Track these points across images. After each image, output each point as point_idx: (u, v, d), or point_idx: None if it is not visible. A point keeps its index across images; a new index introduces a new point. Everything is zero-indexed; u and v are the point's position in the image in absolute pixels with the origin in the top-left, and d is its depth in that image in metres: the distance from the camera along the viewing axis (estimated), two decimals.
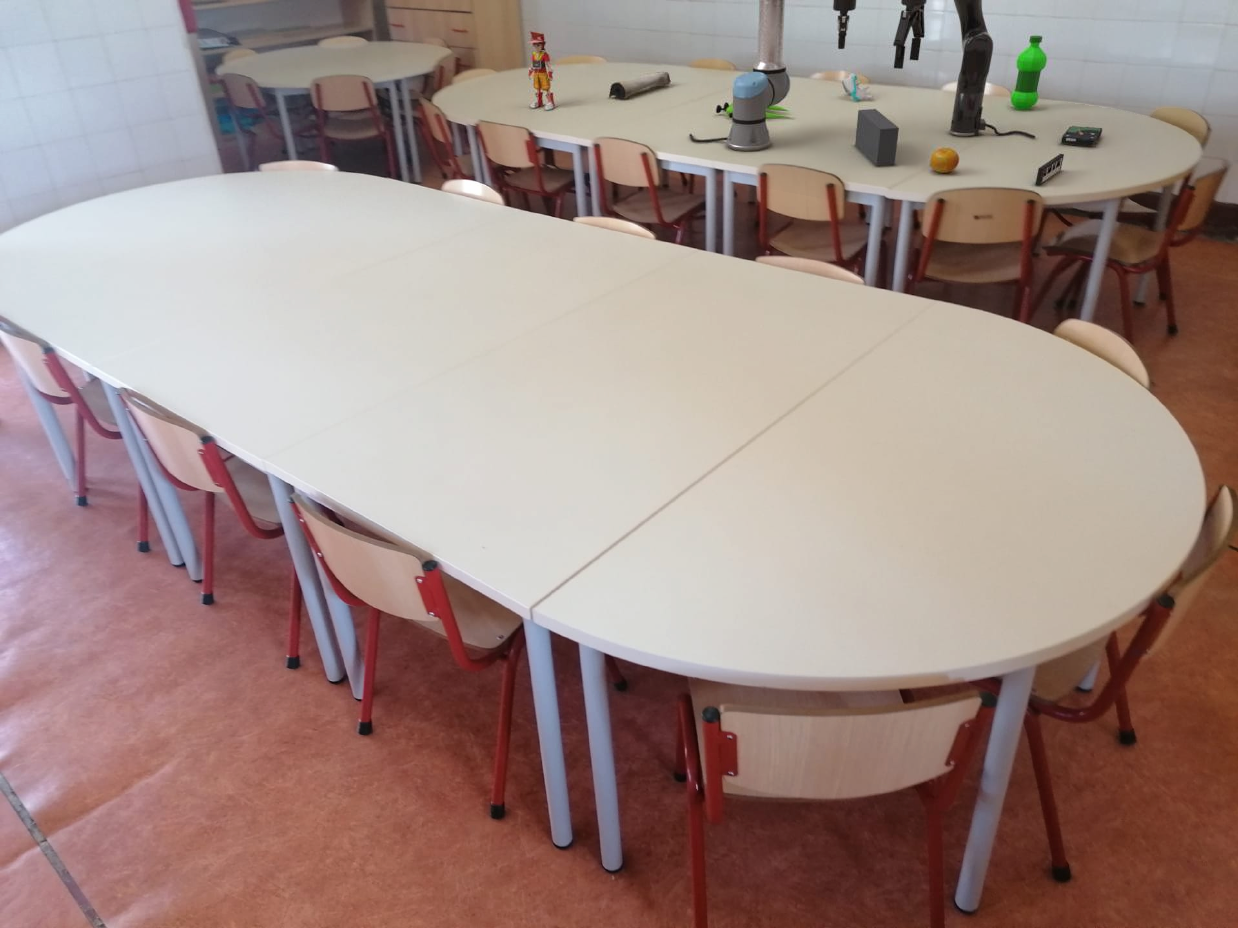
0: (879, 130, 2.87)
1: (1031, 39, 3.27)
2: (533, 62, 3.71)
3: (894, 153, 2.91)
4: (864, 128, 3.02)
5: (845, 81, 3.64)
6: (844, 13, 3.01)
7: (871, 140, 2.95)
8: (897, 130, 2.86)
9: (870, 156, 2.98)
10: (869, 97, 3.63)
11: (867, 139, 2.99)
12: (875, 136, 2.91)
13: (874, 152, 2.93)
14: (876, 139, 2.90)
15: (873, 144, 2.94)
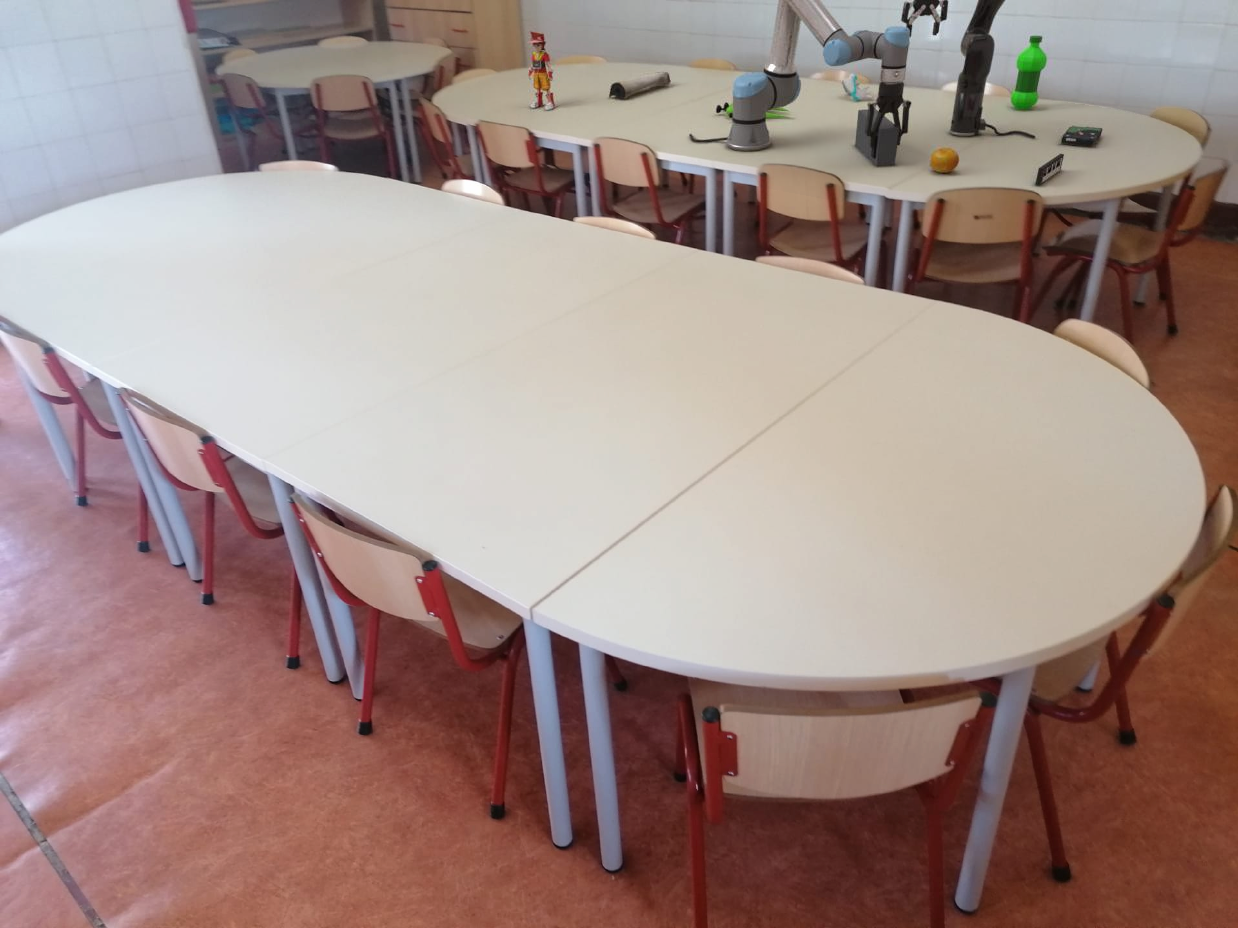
0: (879, 130, 2.87)
1: (1031, 39, 3.27)
2: (533, 62, 3.71)
3: (894, 153, 2.91)
4: (864, 128, 3.02)
5: (845, 81, 3.64)
6: None
7: None
8: (897, 130, 2.86)
9: (870, 156, 2.98)
10: (869, 97, 3.63)
11: (867, 139, 2.99)
12: None
13: None
14: None
15: None
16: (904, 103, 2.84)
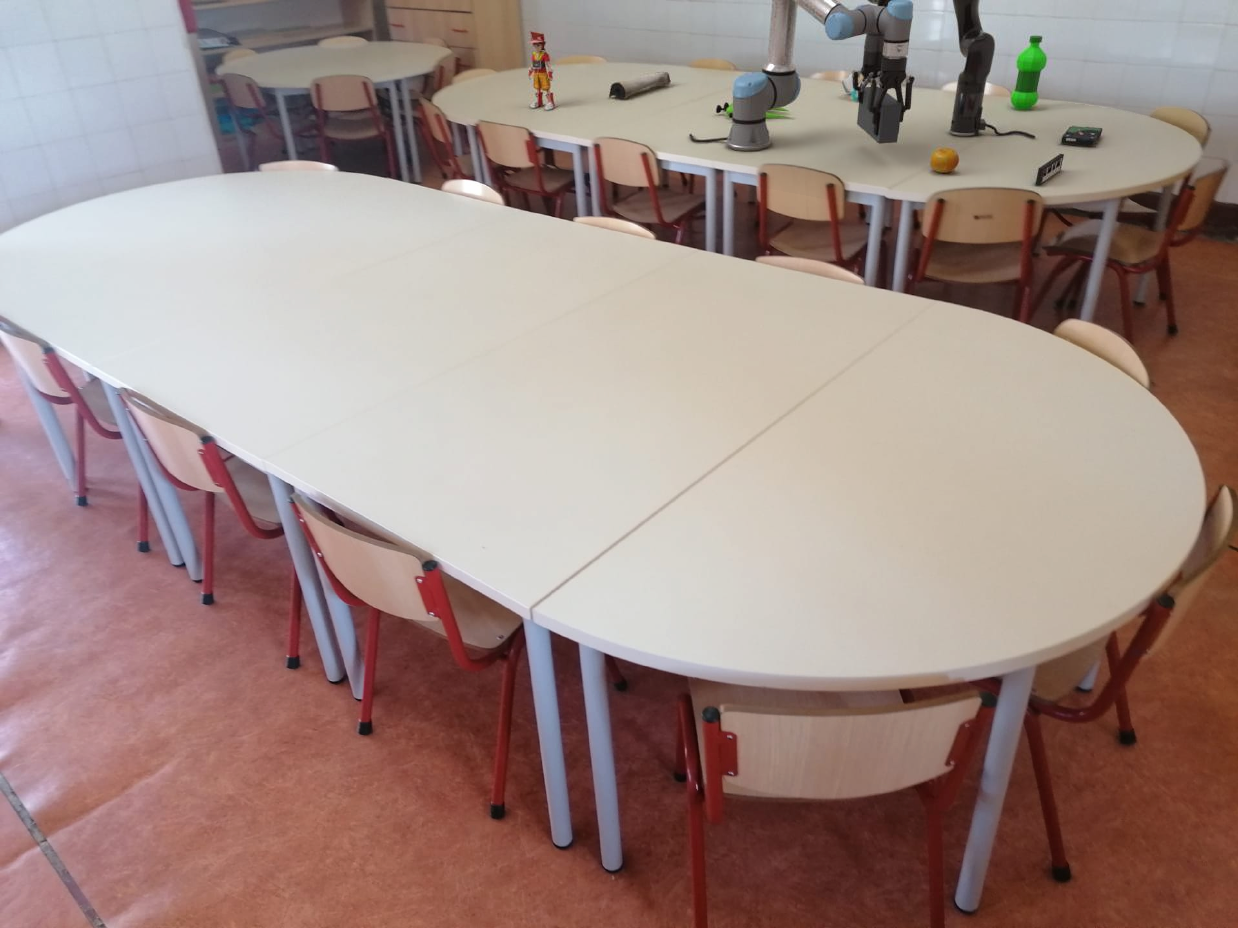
0: (882, 106, 2.83)
1: (1031, 39, 3.27)
2: (533, 62, 3.71)
3: (897, 130, 2.86)
4: (866, 105, 2.97)
5: (845, 81, 3.64)
6: (863, 66, 2.96)
7: None
8: (900, 106, 2.82)
9: (872, 133, 2.94)
10: None
11: (870, 116, 2.95)
12: None
13: None
14: None
15: None
16: (907, 78, 2.80)
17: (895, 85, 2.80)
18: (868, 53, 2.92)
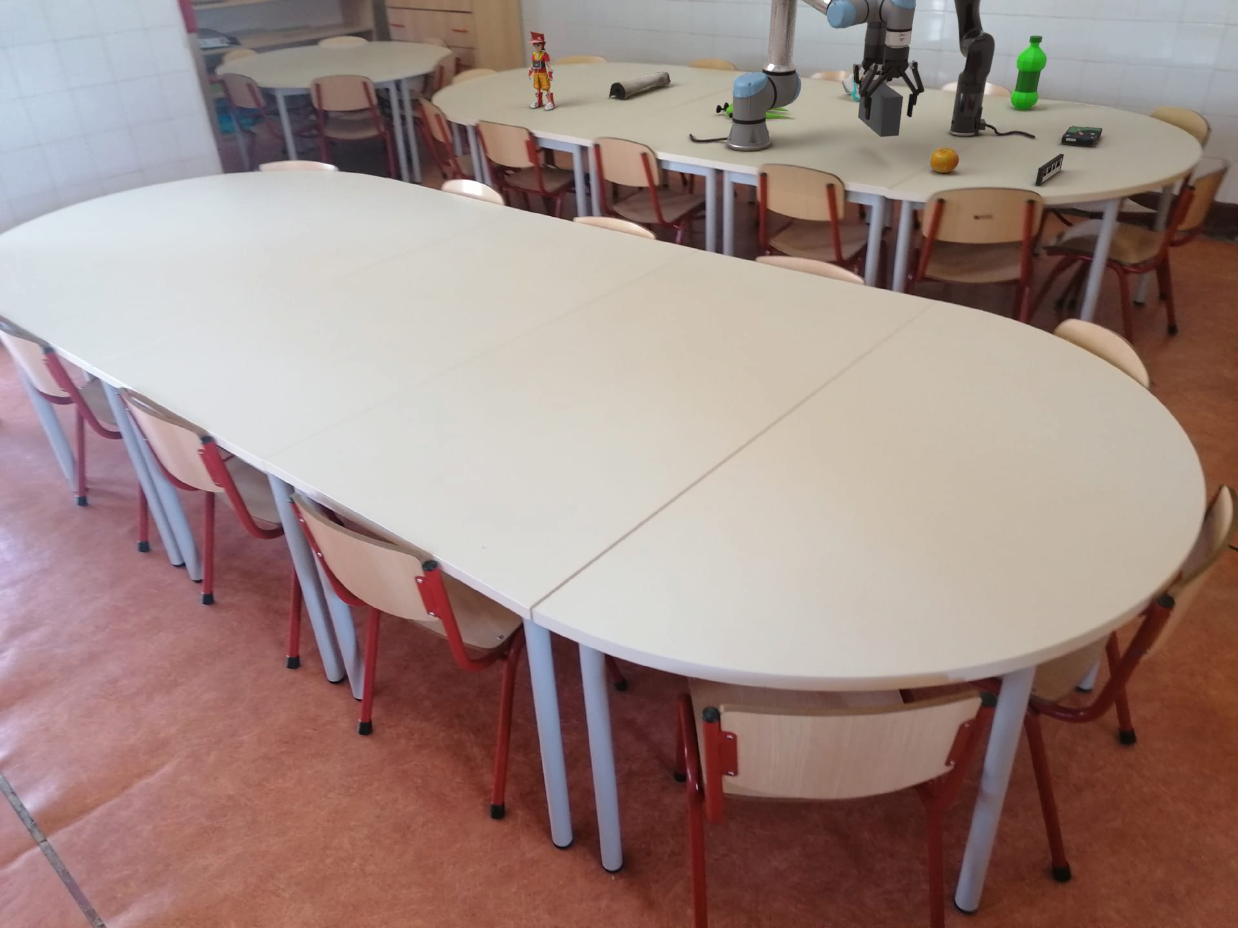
0: (883, 99, 2.82)
1: (1031, 39, 3.27)
2: (533, 62, 3.71)
3: (898, 123, 2.85)
4: None
5: (845, 81, 3.64)
6: (863, 60, 2.95)
7: (875, 110, 2.90)
8: (901, 99, 2.81)
9: (874, 127, 2.93)
10: None
11: (871, 109, 2.94)
12: (879, 105, 2.86)
13: (878, 122, 2.88)
14: (880, 108, 2.85)
15: (876, 114, 2.89)
16: (910, 65, 2.77)
17: (897, 75, 2.78)
18: (869, 46, 2.90)
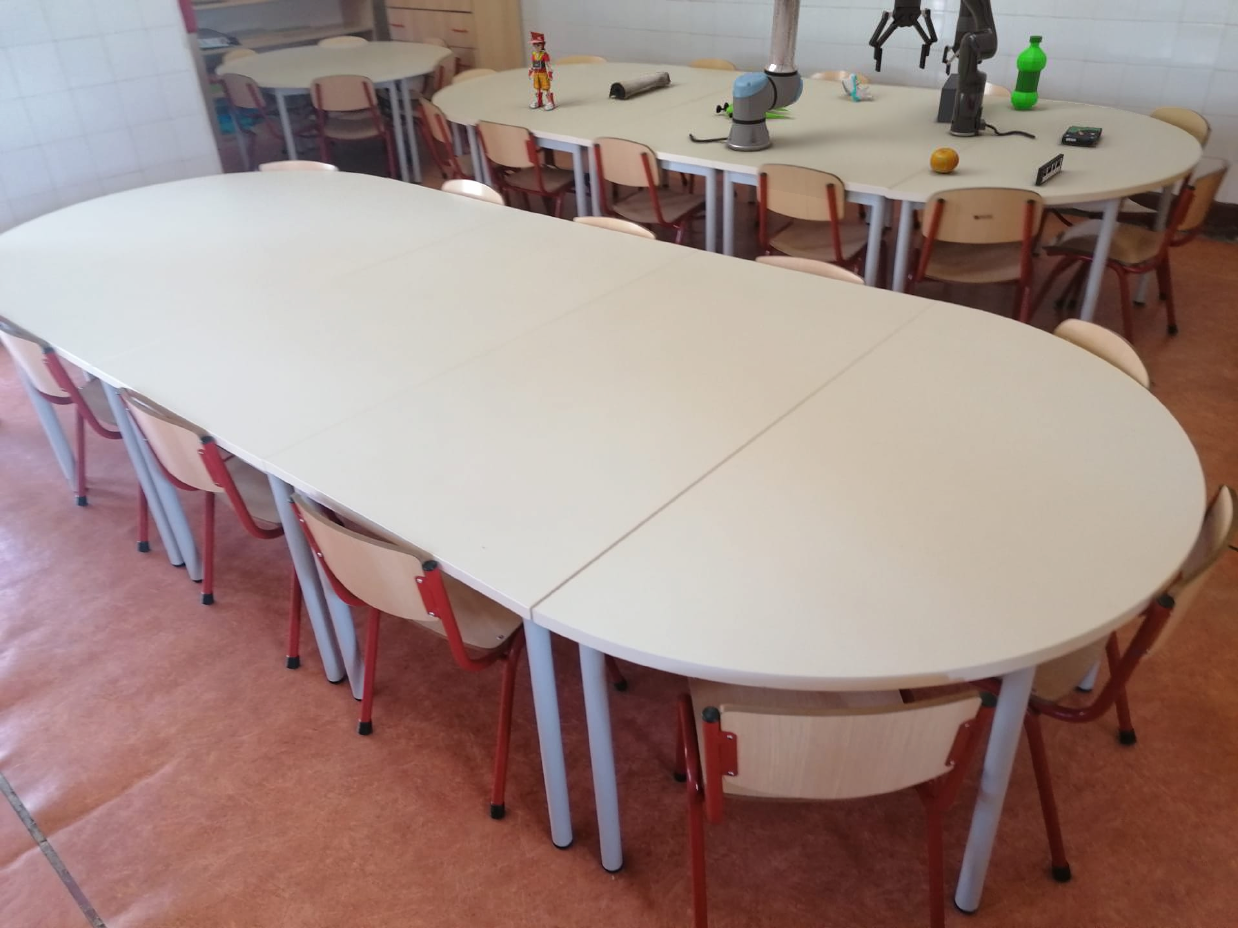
0: None
1: (1031, 39, 3.27)
2: (533, 62, 3.71)
3: None
4: None
5: (845, 81, 3.64)
6: (954, 44, 3.36)
7: None
8: None
9: None
10: (869, 97, 3.63)
11: None
12: None
13: None
14: None
15: None
16: (923, 13, 2.64)
17: (909, 23, 2.65)
18: (957, 32, 3.32)
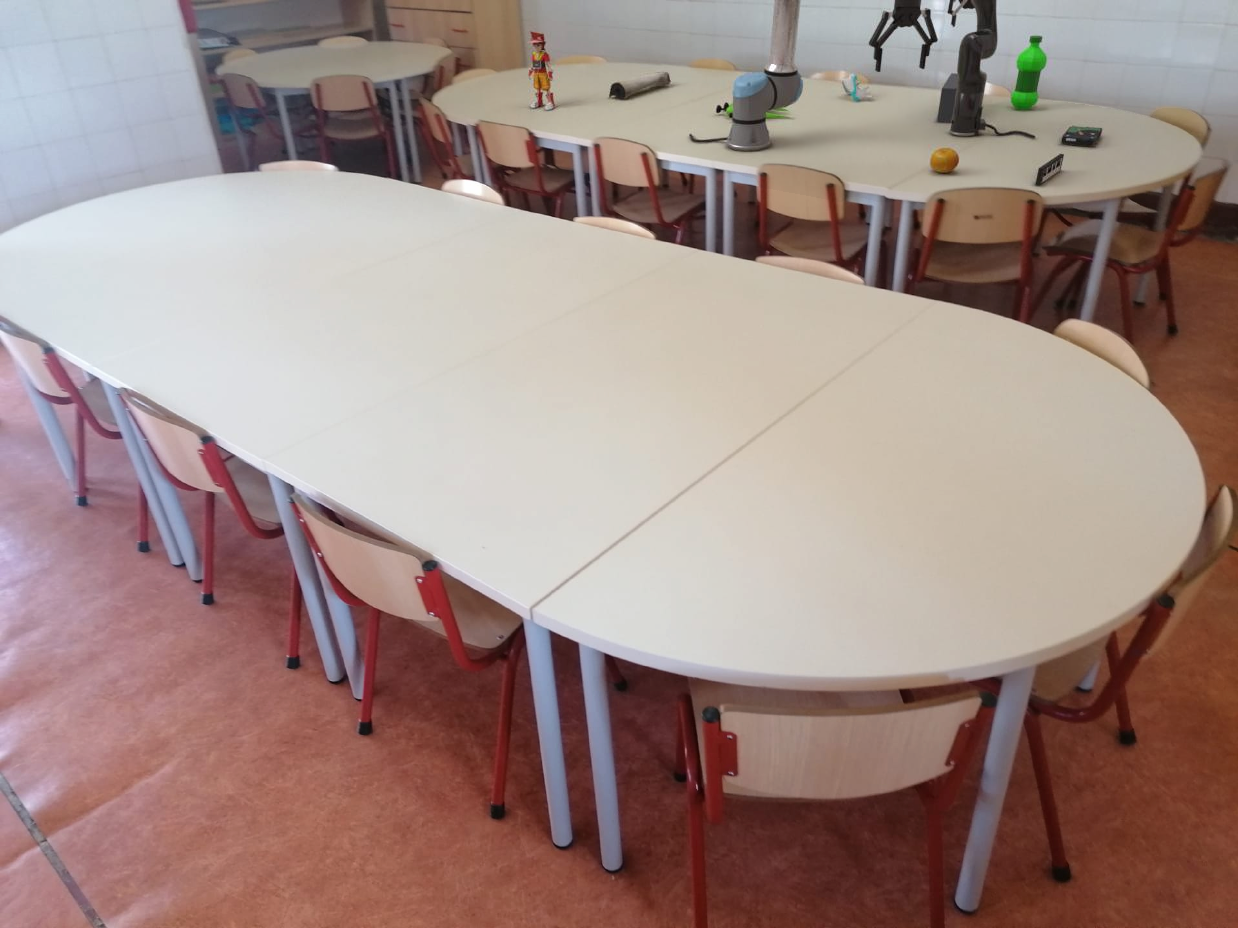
0: None
1: (1031, 39, 3.27)
2: (533, 62, 3.71)
3: None
4: None
5: (845, 81, 3.64)
6: None
7: None
8: None
9: None
10: (869, 97, 3.63)
11: None
12: None
13: None
14: None
15: None
16: (923, 13, 2.64)
17: (909, 23, 2.65)
18: None
